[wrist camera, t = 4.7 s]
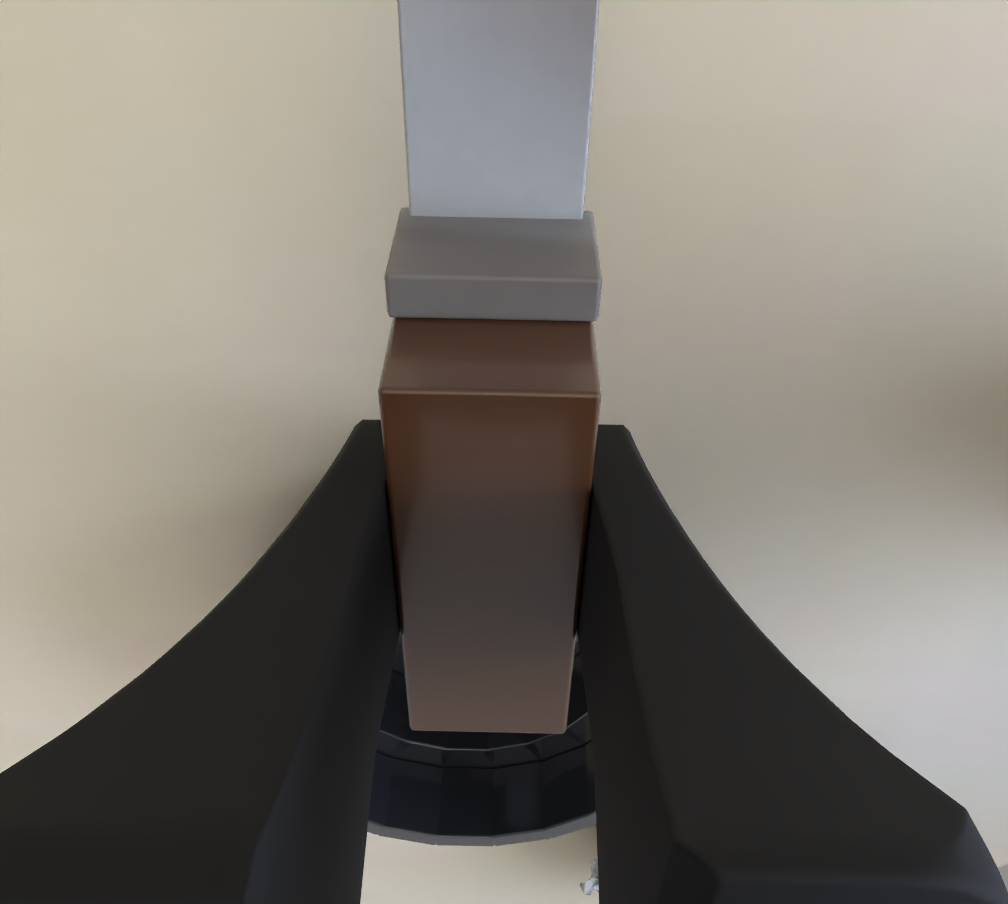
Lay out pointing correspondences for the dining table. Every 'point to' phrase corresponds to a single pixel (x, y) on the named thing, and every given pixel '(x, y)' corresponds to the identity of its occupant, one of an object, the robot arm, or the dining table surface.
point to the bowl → (481, 777)
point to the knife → (492, 359)
